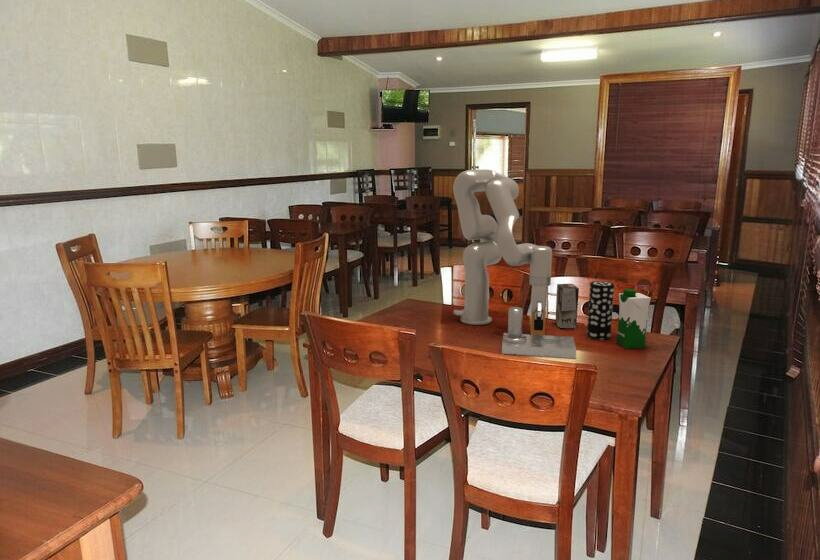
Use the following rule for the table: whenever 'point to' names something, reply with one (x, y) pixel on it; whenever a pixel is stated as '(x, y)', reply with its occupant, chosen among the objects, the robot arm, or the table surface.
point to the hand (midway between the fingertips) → (538, 326)
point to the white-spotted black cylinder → (600, 310)
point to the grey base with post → (534, 340)
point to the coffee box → (566, 305)
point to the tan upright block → (533, 332)
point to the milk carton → (632, 319)
